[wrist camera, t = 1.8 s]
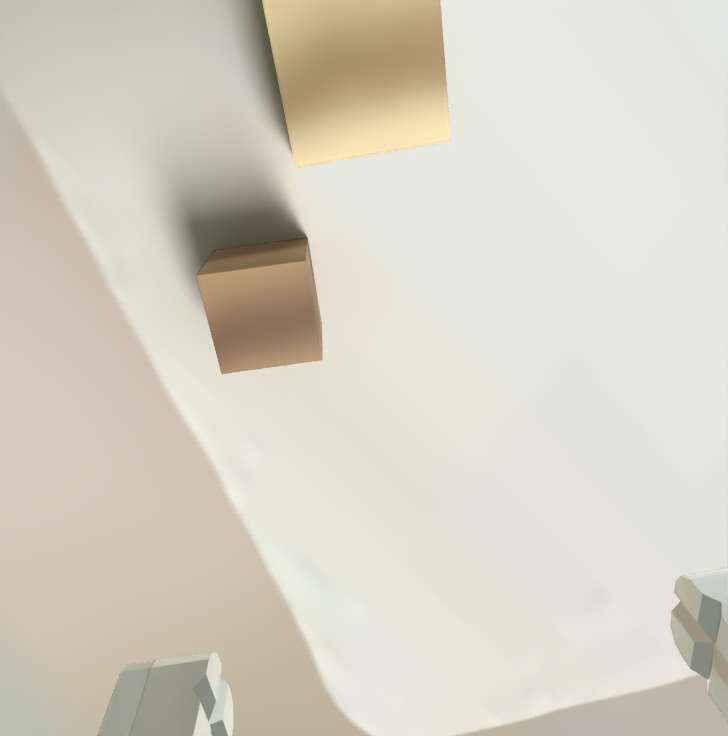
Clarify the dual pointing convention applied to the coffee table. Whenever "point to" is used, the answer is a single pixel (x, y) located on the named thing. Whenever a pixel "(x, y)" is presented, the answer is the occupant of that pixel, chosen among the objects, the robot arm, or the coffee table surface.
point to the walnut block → (262, 305)
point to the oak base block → (359, 76)
